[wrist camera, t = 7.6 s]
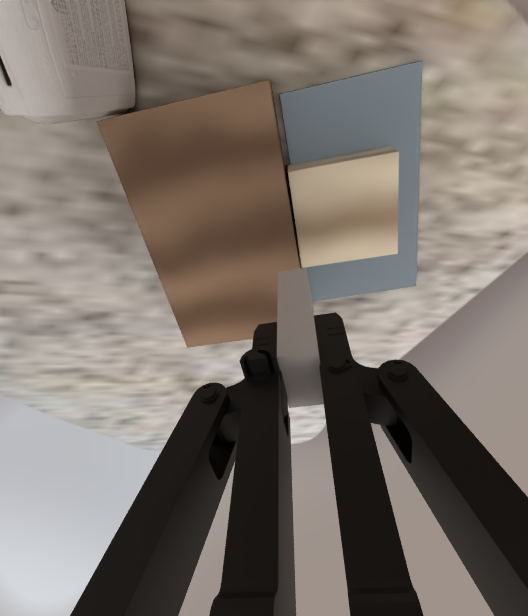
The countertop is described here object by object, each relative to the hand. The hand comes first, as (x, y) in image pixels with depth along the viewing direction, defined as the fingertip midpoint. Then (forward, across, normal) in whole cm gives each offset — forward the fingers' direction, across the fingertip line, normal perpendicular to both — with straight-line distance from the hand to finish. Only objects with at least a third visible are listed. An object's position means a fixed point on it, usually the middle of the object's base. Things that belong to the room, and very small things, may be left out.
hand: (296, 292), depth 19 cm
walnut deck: (+15, -6, -1) cm, 16 cm away
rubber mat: (+15, +6, -1) cm, 16 cm away
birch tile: (+14, +4, -1) cm, 15 cm away
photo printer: (+15, -11, +15) cm, 24 cm away
